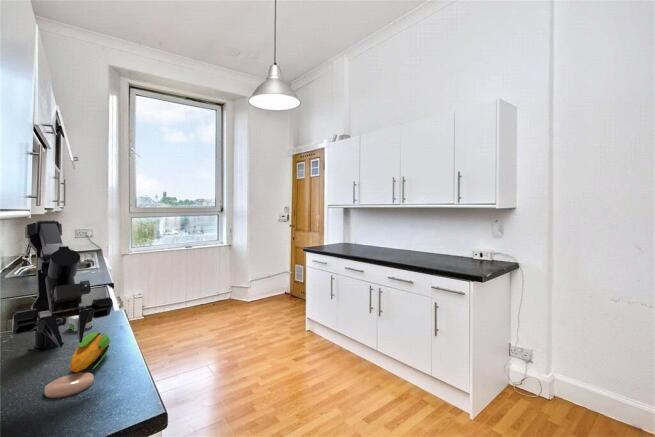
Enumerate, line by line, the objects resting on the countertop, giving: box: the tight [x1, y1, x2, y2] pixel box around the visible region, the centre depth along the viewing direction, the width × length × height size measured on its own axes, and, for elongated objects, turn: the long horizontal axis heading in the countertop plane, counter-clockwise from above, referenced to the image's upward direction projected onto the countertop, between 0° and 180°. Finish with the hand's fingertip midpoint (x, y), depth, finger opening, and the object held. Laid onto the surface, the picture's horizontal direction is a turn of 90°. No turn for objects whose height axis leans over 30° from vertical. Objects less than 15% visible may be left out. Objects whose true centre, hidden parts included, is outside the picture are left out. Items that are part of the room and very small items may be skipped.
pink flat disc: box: [44, 372, 95, 399], centre depth 74 cm, size 9×9×1 cm
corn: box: [69, 332, 111, 373], centre depth 85 cm, size 7×8×20 cm
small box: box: [67, 316, 94, 332], centre depth 114 cm, size 6×6×5 cm
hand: (71, 344), depth 73 cm, fingers open, 3 cm apart
